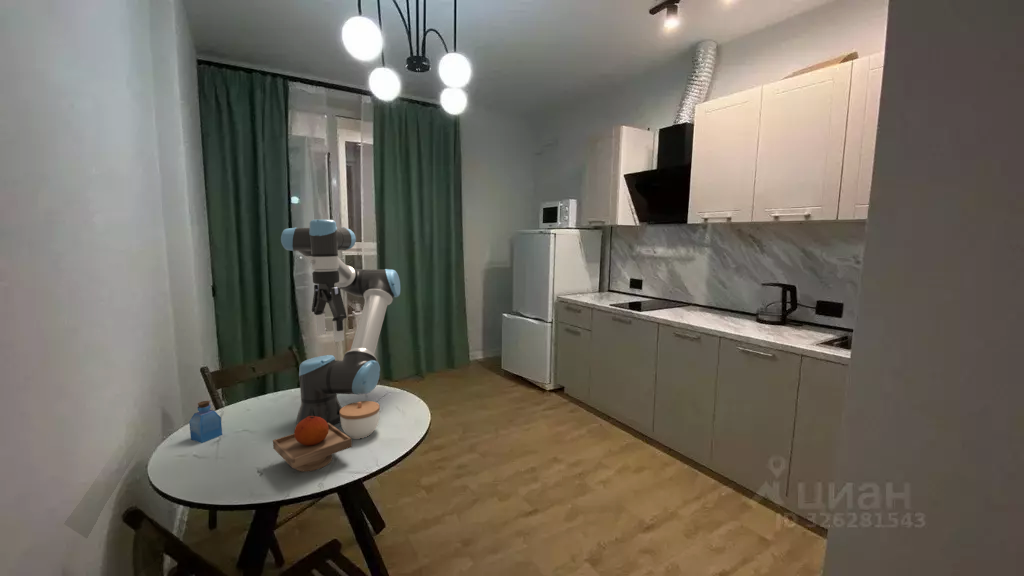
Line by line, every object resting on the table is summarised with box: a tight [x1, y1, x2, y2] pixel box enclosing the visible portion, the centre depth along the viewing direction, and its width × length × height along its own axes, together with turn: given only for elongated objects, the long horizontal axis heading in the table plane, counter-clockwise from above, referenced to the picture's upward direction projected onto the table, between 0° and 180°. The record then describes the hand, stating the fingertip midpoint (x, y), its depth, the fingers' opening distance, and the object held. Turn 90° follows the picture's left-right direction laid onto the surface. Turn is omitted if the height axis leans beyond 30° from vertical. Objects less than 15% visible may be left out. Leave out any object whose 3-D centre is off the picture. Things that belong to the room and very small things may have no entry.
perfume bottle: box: [189, 400, 223, 444], centre depth 135 cm, size 6×6×12 cm
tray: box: [272, 423, 353, 473], centre depth 119 cm, size 16×16×7 cm
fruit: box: [293, 416, 329, 446], centre depth 118 cm, size 9×9×8 cm
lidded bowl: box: [339, 400, 381, 440], centre depth 136 cm, size 13×13×11 cm
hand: (329, 337), depth 128 cm, fingers open, 13 cm apart
